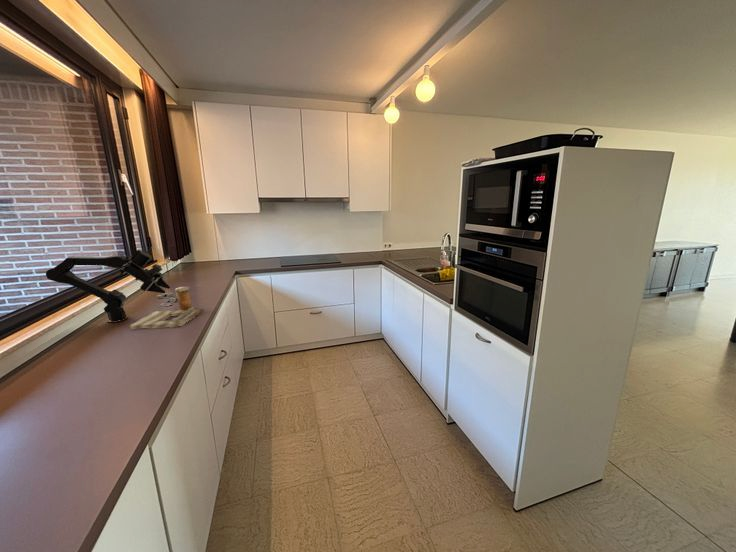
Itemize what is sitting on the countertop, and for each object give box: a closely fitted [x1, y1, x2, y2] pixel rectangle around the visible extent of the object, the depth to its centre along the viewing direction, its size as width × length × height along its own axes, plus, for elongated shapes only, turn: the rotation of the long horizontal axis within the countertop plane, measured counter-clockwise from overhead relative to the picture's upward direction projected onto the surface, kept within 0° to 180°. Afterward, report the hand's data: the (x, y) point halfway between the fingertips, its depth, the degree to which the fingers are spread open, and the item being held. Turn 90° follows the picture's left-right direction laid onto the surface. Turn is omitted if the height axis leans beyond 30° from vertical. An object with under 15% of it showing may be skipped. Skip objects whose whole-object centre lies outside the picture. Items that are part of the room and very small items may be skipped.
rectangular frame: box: [129, 309, 201, 330], centre depth 154 cm, size 24×18×2 cm
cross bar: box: [171, 307, 195, 323], centre depth 154 cm, size 2×16×2 cm, turn 1°
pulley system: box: [156, 291, 178, 306], centre depth 189 cm, size 27×5×15 cm
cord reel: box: [175, 286, 194, 311], centre depth 167 cm, size 6×6×13 cm
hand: (167, 290), depth 163 cm, fingers open, 9 cm apart
